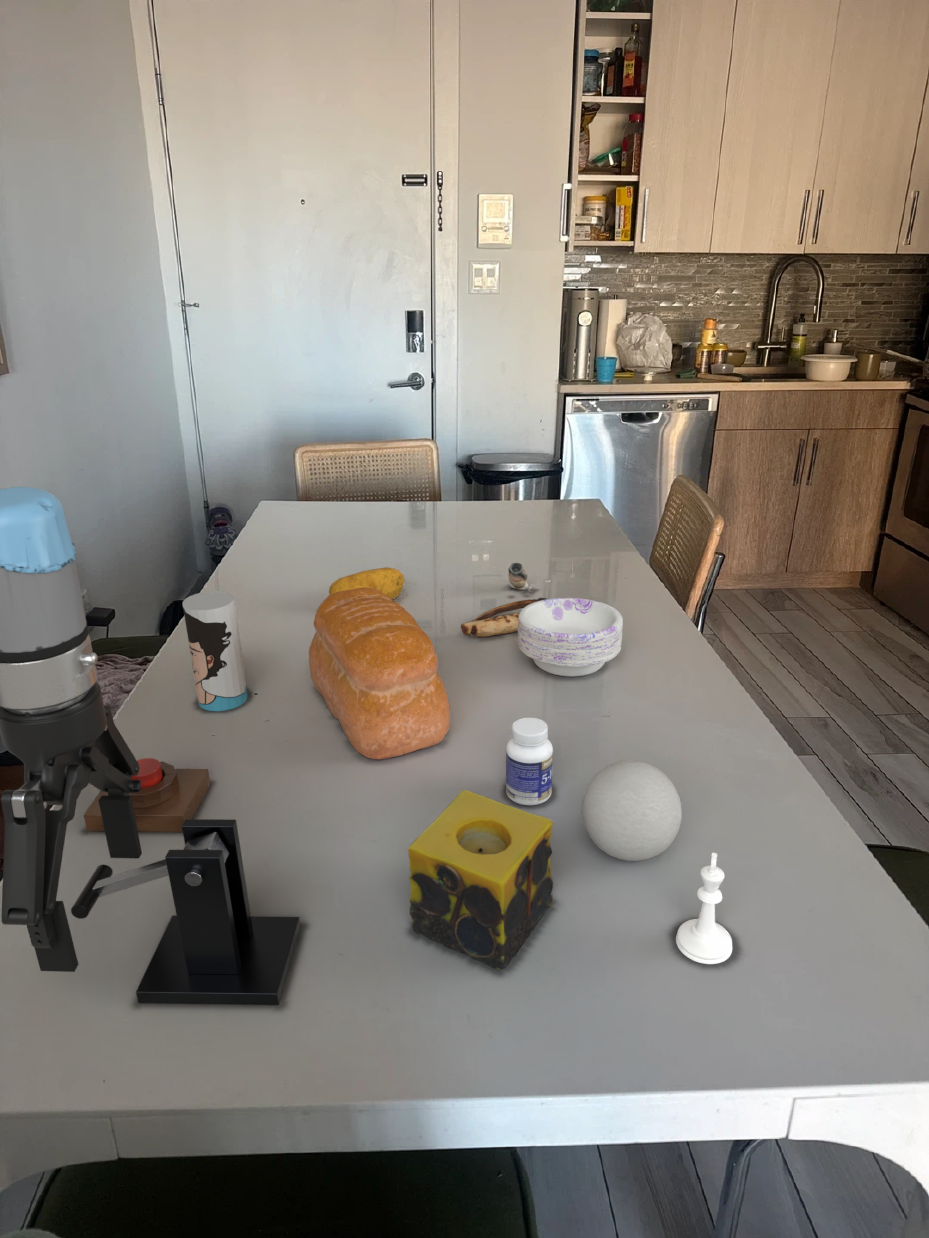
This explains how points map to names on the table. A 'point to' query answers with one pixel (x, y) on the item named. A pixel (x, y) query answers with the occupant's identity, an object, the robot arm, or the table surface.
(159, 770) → the button
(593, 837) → the ball
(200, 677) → the cup
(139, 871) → the lever
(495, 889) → the candle
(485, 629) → the bone fish hook
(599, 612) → the paper bowls
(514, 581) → the vase
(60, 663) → the robot arm
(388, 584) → the potato
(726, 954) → the chess piece
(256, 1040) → the table surface
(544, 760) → the pill bottle
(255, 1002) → the bracket
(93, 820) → the button block
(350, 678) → the bread
